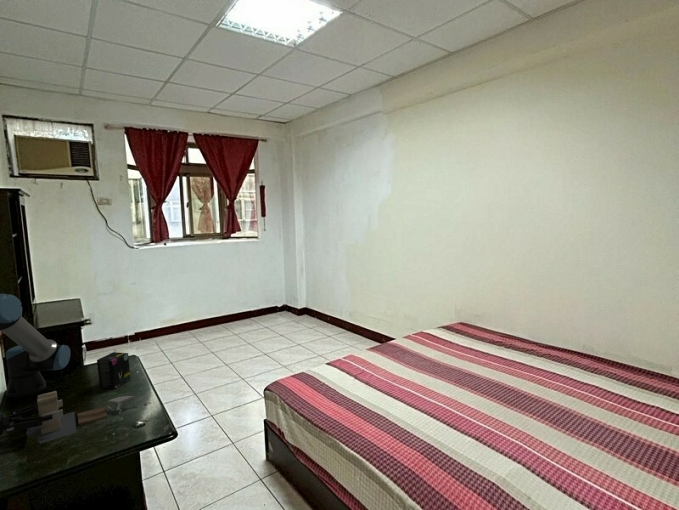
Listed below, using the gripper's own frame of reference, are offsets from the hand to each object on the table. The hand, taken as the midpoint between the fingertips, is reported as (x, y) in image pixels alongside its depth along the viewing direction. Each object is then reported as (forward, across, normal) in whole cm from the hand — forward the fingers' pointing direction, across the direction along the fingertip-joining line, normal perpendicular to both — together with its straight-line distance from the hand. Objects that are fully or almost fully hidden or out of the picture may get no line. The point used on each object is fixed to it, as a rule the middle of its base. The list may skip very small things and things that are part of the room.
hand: (62, 407), depth 155 cm
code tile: (-4, 0, -8) cm, 9 cm away
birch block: (-4, 0, -7) cm, 9 cm away
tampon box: (+22, -30, -8) cm, 38 cm away
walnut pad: (+10, 0, -8) cm, 12 cm away
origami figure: (+21, +2, -8) cm, 23 cm away
